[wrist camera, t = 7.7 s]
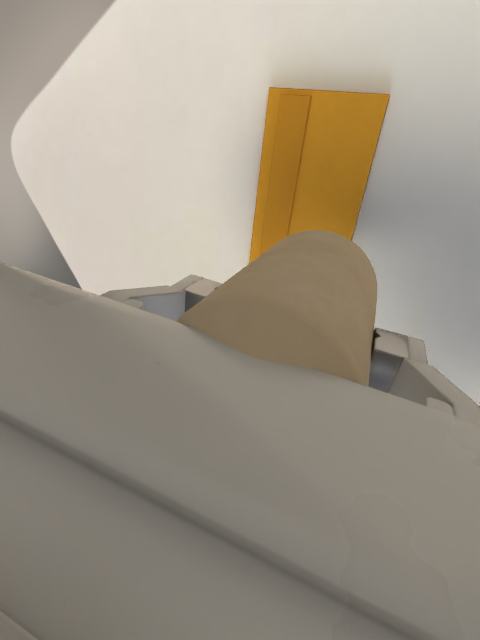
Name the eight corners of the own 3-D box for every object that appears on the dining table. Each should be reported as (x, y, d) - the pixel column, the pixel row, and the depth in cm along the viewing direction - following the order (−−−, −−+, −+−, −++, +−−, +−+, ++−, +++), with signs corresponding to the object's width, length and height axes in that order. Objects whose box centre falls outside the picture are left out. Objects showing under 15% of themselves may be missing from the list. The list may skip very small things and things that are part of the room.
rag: (391, 95, 23) (391, 93, 22) (325, 344, 34) (323, 348, 33) (271, 88, 26) (267, 86, 25) (243, 320, 36) (240, 323, 36)
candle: (280, 210, 15) (136, 279, 6) (402, 255, 13) (420, 411, 5) (247, 311, 18) (119, 450, 9) (345, 356, 16) (300, 559, 8)
